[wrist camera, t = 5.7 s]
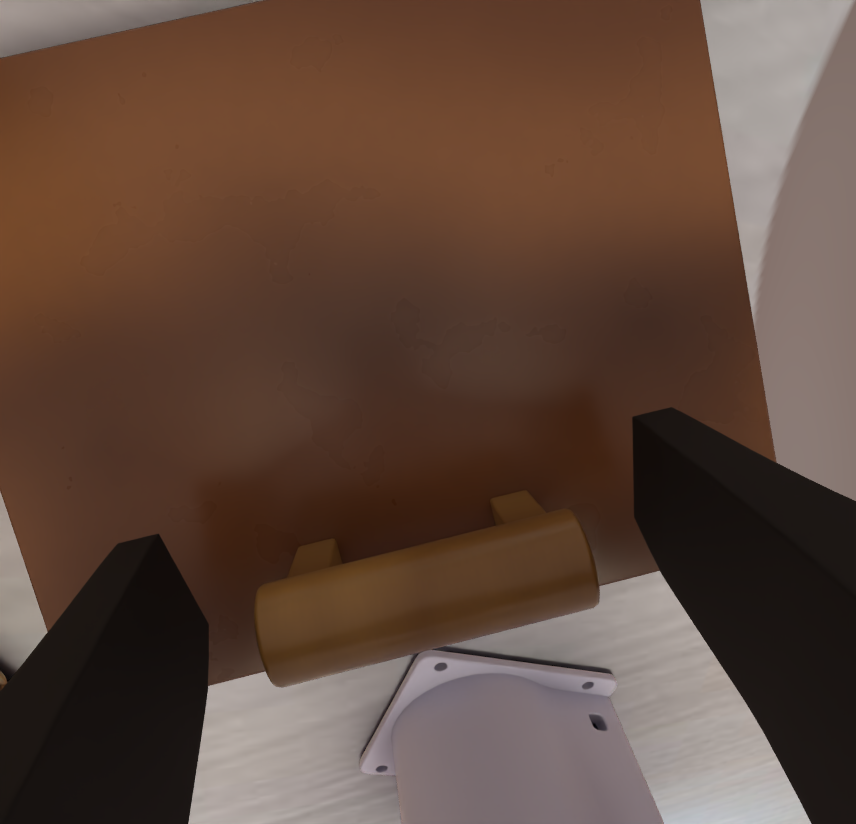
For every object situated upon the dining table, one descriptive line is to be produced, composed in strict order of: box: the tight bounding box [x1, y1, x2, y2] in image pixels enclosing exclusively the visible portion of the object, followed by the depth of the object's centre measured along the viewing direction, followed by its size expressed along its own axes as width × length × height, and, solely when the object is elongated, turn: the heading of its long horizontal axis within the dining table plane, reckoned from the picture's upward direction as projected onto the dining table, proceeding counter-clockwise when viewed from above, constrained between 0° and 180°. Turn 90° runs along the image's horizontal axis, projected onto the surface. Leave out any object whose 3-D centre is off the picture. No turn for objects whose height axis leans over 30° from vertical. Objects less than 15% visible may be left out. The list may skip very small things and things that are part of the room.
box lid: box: [0, 0, 776, 688], centre depth 10 cm, size 11×13×4 cm
